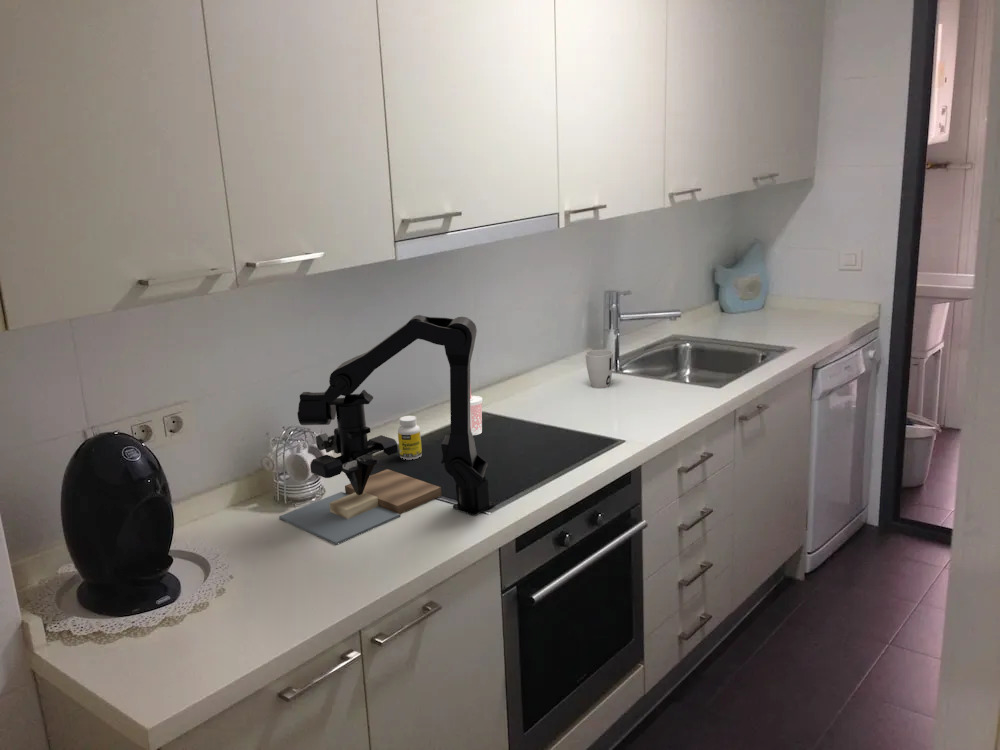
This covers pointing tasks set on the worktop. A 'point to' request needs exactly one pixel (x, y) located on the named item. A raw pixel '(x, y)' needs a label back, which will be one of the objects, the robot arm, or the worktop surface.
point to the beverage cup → (475, 414)
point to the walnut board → (398, 491)
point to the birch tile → (353, 504)
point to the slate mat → (336, 520)
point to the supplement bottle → (409, 438)
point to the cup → (599, 367)
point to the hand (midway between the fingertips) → (359, 494)
